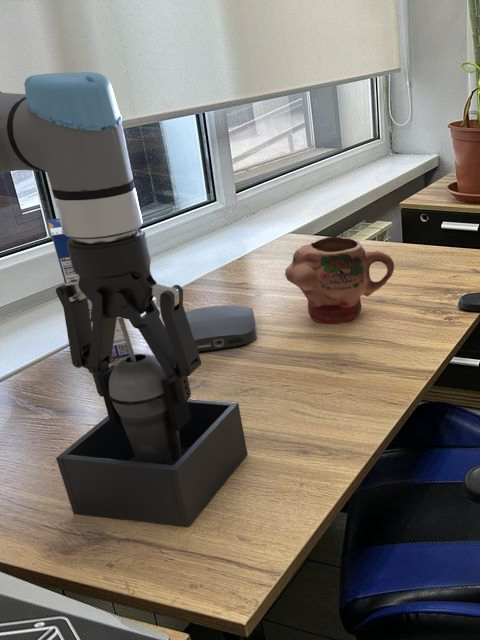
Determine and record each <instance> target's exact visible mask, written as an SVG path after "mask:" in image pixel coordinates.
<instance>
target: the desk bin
mask: <svg viewBox="0 0 480 640" xmlns="http://www.w3.org/2000/svg"><path fill="white" fill-rule="evenodd" d="M187 403H188V408H189V412H190V417H191V419H190V420H189V421H188V422H187V423H186V424H185V425H184V426H183V427H182V428H181V429H180V430H179V435H180V443H181V452H182V457H181V458H180V459H179V460H178V461H177V462H176V463H175V464H174V465H164V464H154V463H144V462H137V460H136V458H135V455H134V452H133V450H132V447H131V444H130V442H129V439H128V436H127V434H126V431H125V429H124V426H123V423H122V421H121V422H120V423H119V424H118V425H111V423H110V419H109V416H108V415H107V416H105V417H103V419H101V420H100V421H99V422H98V423H97V424H95V425H94V426H93V427H92V428H90V430H88V431H87V432H86V433H84V434H83V435H82V436H81V437H79V438H78V439H77V440H76V441H75V442H73V443H72V444H71V445H70V446H69V447H67V448H66V449H65V450H63V451H62V452H61V453H60V454H59V455H57V456H56V457H55V460H56V463H57V466H58V469H59V473H60V475H61V480H62V482H63V485H64V488H65V492H66V494H67V497H68V501H69V504H70V508H71V510H72V513H73V514H74V515H81V516H90V517H99V518H107V519H115V520H125V521H133V522H141V523H149V524H150V523H151V524H159V525H168V526H176V527H183V528H190V527H191V526H192V524H193V523H194V522H195V521H196V519H197V518H198V517H199V515H201V513H202V512H203V511H204V509H206V507H207V505H209V503H210V502H211V501H212V500H213V498H214V497H215V496H216V494H217V493H218V492H219V491H220V490H221V488H222V487H223V486H224V485H225V483H226V482H227V481H228V480H229V478H230V477H231V476H232V475H233V474H234V472H235V471H236V470H237V469H238V467H239V466H240V465H241V463H243V462H244V460H245V458H247V456H248V449H247V443H246V437H245V432H244V427H243V421H242V416H241V410H240V409H241V408H240V404H239V402H231V401H218V400H206V399H196V398H195V399H193V398H189V399H188V400H187Z"/></svg>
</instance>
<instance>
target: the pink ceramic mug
mask: <svg viewBox="0 0 480 640" xmlns="http://www.w3.org/2000/svg"><path fill="white" fill-rule="evenodd" d="M376 262H379V263H383V265H384V266H385V267H386V273H385V275H384V276H383V278H381V279H380V280H379V281H374V280H372V278H371V275H370V274H371V273H370V268H371V266H372V265H373V264H374V263H376ZM394 262H395V261H394V260H393V258H392V257H391V256H390V254H388V253H386V252H383V251H380V250H369V251H368V250H366V249H364V247H363V245H362V243H361V242H359V241H358V240H356V239H352V238H349V237H340V236H336V235H334V236H328V237H323V238H320V239H316V240H313V241H311V242H308V243H305V244H301V245H300V246H299V247H297V248H296V249H295V251H294V252H293V254H292V260H291V263H290V264H289V265H288V266H287V267H286V268H285V270H284V276H285V278H286V280H287V281H288V282H290V283H291V284H293V285H294V286H296V287H298V289H300V291H301V292H302V294H303V295H304V297H305V298H306V300H307V311H308V315H309V317H310V318H311V319H313V320H314V321H316V322H319V323H325V324H341V323H346V322H351V321H353V320H355V319H356V318H357V317H358V316H359V315H360V313H361V311H362V307H363V306H362V300H361V296H365V297H370V296H371V295H372V294H374V293H375V292H377V291H378V290H380V289H381V288H382V287H383V286H385V285H386V283H387V282H388V281H389V279H391V277H392V276H393V274H394V270H395V263H394Z"/></svg>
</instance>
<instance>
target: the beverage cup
mask: <svg viewBox="0 0 480 640" xmlns="http://www.w3.org/2000/svg"><path fill="white" fill-rule="evenodd" d="M119 322H120V325H121V329H122V332H123V335H124V338H125V342H126V345H127V348H128V351H129V356H125V357H123V358H122V360H120V361H118V362H117V363H116V366H115V368H114V369H113V371H112V372H111V375H110V378H109V399H110V400H111V401H112V403H113V405H114V407H115V409H116V411H117V413H118V414H119V415H120V418H121V421H122V423H123V426H124V429H125V431H126V434H127V436H128V439H129V442H130V444H131V447H132V450H133V452H134V455H135V458H136V460H137V462H144V463H154V464H164V465H174V464H175V463H176V462H177V461H178V460H179V459H180V458H181V457H182V452H181V443H180V435H179V431H173V430H172V425H171V421H170V416H169V412H168V408H167V403H166V399H165V395H164V390H163V386H162V382H161V381H162V380H163V379H164V378H165V377H166V376H167V375H166V374H165V372H164V371H163V369H162V367H161V366H160V364H159V362H158V361H157V359H156V357H155V356H154V355H152V354H148V353H136V354H135V352H134V348H133V346H132V342H131V339H130V336H129V332H128V328H127V326H126V322H125V319H124V318H120V319H119Z"/></svg>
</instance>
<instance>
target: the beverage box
mask: <svg viewBox="0 0 480 640" xmlns="http://www.w3.org/2000/svg"><path fill="white" fill-rule="evenodd" d="M46 222H47V225H48V228H49V232H50V235H51V238H52V239H51V240H52V243H53V247H54V251H55V254H56V257H57V260H58V264H59V268H60V272H61V274H62V278H63V282H64V284H65V283H67V282H69V281H71V280H73V279H75V280H77V281H79V275H77V274H76V273H75V272H74V270H73V267H72V263H71V260H70V256H69V252H68V248H67V245H66V243H67V241H68V239H69V238H70V237H68V236H66V235H64V234H63V231H62V227H61V223H60V219H59V217H58V218H51V219H46ZM87 301H88V306H89V313H90V320H91V311H92V302H91V301H90V300H89V299H88V298H87ZM120 318H121V317H117V319H116V327H115V334H114V342H113V349H112V357H111V358H113V359H115V360H116V359H120V358H126V357H128V356H130V355H129V351H128V348H127V345H126V342H125V338H124V335H123V332H122V329H121V325H120V322H119V319H120ZM92 326H93V322H91V327H92ZM113 359H112V360H113Z"/></svg>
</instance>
